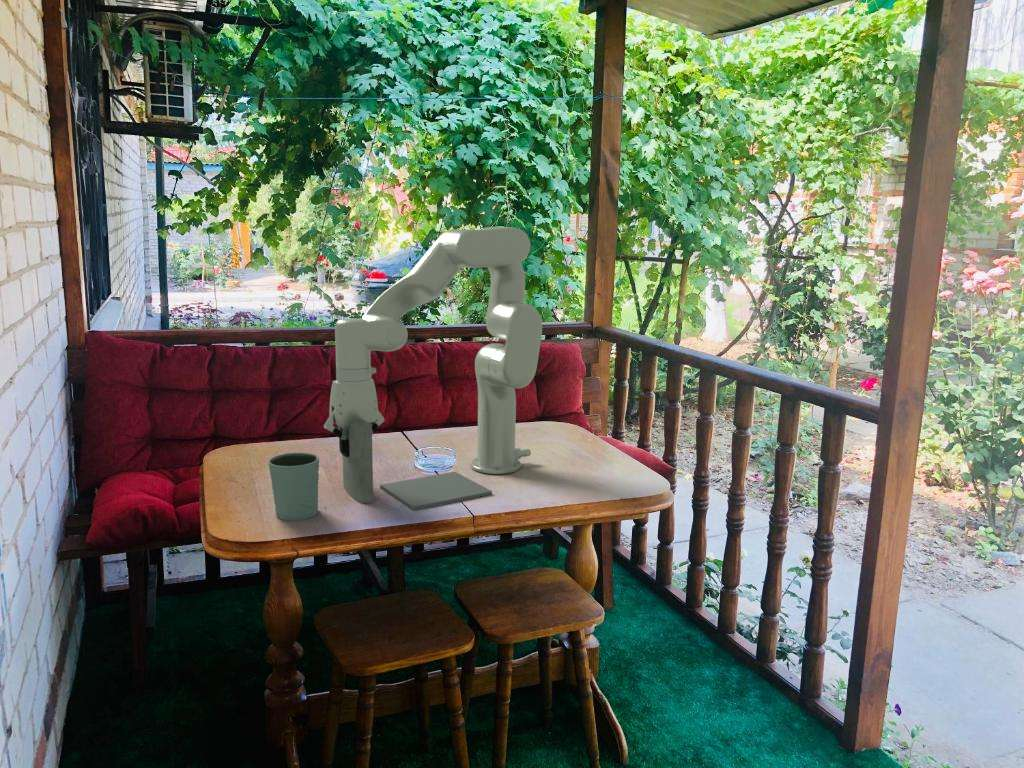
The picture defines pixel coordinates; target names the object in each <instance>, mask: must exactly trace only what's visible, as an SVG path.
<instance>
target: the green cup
mask: <svg viewBox="0 0 1024 768" xmlns="http://www.w3.org/2000/svg"><path fill="white" fill-rule="evenodd" d="M267 462H268V467H269V474H270V480H271V485H272V486H271V487H272V488H271V489H272V494H273V503H274V506H275V507H274V510H275V515H276V518H278V519H279V518H280V520H283V521H288V520H289V521H291V522H293V521H294V522H295V521H296V522H297V521H304V520H308V519H310V517H311V518H313V517H315V516H316V515H317V514H318V513H319V510H318V509H319V500H318V499H319V479H320V478H319V476H320V474H319V470H320V469H319V468H320V456H318V455H317V454H315V453H311V452H289V453H284V454H279V455H275V456H273V457H271V458H270V459H269V460H268V461H267ZM307 518H308V519H307ZM303 519H304V520H303Z"/></svg>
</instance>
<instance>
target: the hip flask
mask: <svg viewBox="0 0 1024 768" xmlns="http://www.w3.org/2000/svg"><path fill="white" fill-rule="evenodd" d="M347 439H348V440H349V457H345V456H343V455H342V454H341V455H342V456H341V457H342V458H341V459H342V484H343V488H344V490H345V491H346V493H347V494H348V495H349V496H350V497H351V498H352V499H354V500H355V501H357V502H358V503H360V504H371V503H372V502H374V470H373V468H374V467H373V460H374V459H373V435H372V424H371V423H369V422H366V421H364V420H355V421H349V426H348V433H347Z"/></svg>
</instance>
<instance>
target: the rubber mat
mask: <svg viewBox="0 0 1024 768" xmlns="http://www.w3.org/2000/svg"><path fill="white" fill-rule="evenodd" d="M379 488H380V489H381V490H382V491H383V492H386V493H387V494H388V495H390V496H391V497H393V498H394V499H396V500H397V501H398V502H401V503H402V504H403V505H404V506H406V507H408V508H409V509H411V510H412V511H417V510H418V511H419V510H422V509H426V508H432V507H436V505H437V506H441V505H440V504H442V505H446V504H445V503H447V504H451V503H450V502H452V503H456V501H457V502H460V501H461V500H462V501H466V500H465V499H467V500H471V499H470V498H472V499H476V498H475V497H477V498H481V497H480V496H482V497H486V496H485V495H487V496H491V495H490V494H493V491H492V490H491V489H489V488H487V487H485V486H484V485H481V484H479V483H478V482H476V481H473V480H472V479H470V478H468V477H466V476H464V475H462V474H461V473H459V472H457V471H451V472H445V473H439V474H438V473H437V474H433V475H427V476H422V477H418V478H417V477H416V478H411V479H405V480H399V481H394V482H388V483H383V484H379ZM431 506H432V507H431Z"/></svg>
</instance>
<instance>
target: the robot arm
mask: <svg viewBox="0 0 1024 768" xmlns="http://www.w3.org/2000/svg"><path fill="white" fill-rule="evenodd" d="M530 250H531V241H530V238H529V236H528V234H527V233H526V232H525V231H524V230H522V229H520V228H518V227H512V226H508V227H507V226H486V227H483V228H481V229H459V228H455V229H453V228H452V229H448V230H445V231H444V232H443V233H441V234H440V235H439V237H438V238H436V240H434V242H433V244H432V245H431V246H430V247H429V249H427V251H426V252H425V253H424V255H423V256H422V257H421V258H420V260H418V261H417V262H416V264H415V265H414V267H413V268H412V269H411V270H410V271H409V272H408V273H407V274H406V275H405V276H404V277H402V278H400V279H399V280H398V281H397V282H396V283H394V284H393V285H392V286H390V287H389V288H388V289H386V290H385V291H384V292H382V294H380V295H379V296H378V297H377V298H376V300H375V301H374V302H373V303H372V304H371V306H370V307H368V309H367V310H366V312H365V313H364V314H363V315H362V317H361V318H357V317H356V318H353V317H352V318H349V317H348V318H342V319H338V320H337V321H336V323H335V325H334V336H335V338H334V343H335V346H334V347H335V374H336V375H335V377H336V380H332V384H331V388H330V398H329V411H328V412H329V416H328V418H327V419H326V421H325V423H324V424H323V428H324V429H326V430H328V431H329V432H331V433H332V434H334V435H335V436H336V437H337V438H338V439H339V444H338V445H339V452H340V454H341V455H343V456H345V457H349V440H348V439H347V433H348V426H349V421H355V420H364V421H366V422H369V423H371V424H372V436H373V435H374V432H375V431H376V430H377V429H378V428H379V426H380V425H382V424H383V423H384V422H385V421H386V420H385V418H384V416H383V415H382V413H381V412H380V410H379V408H378V407H379V405H378V396H377V390H376V385H375V380H374V379H373V378H372V375H374V374H376V373H377V368H376V367H372V365H371V357H372V356H371V351H377V352H378V351H379V352H393V351H397V350H399V349H402V347H403V346H405V344H406V342H407V341H408V336H409V333H408V329H407V327H406V325H405V324H404V323H403V322H402V321H401V320H400V319H401V318H402V317H403V316H404V315H406V314H407V313H409V312H411V310H413V309H414V308H417V307H419V306H422V305H426V304H428V303H430V302H432V301H434V300H436V299H437V298H438V297H439V296H441V294H442V293H443V291H444V290H445V289H446V288H447V287H448V285H449V283H450V282H451V281H452V280H453V279H454V277H456V275H457V274H458V273H459V272H460V271H461V269H462V268H469V269H477V268H478V269H479V268H480V269H481V268H487V270H488V271H489V272H488V273H489V275H490V287H489V295H488V302H487V311H486V318H485V326H486V330H487V332H488V333H489V334H490V335H491V336H492V337H495V338H497V339H500V340H505V344H502V343H489V344H486V345H483V346H482V347H481V348H480V349H479V350H478V352H477V354H476V355H475V359H474V372H475V378H476V383H477V385H476V386H477V458H474V459H473V460H472V461H471V465H470V466H471V468H472V469H473V470H474V471H476V472H479V473H482V474H488V475H489V474H490V475H493V474H494V475H503V474H511V473H514V472H517V471H519V470H520V469H521V467H522V464H521V461H520V459H521V458H523V457H524V458H525V457H530V456H531V454H532V450H531V449H530V448H525V449H521V448H519V447H517V448H516V417H517V411H516V410H517V396H516V390H515V389H523V388H525V387H528V386H529V384H531V382H532V381H533V380H534V379H535V375H536V373H537V369H538V362H539V358H540V357H539V356H540V355H539V354H540V348H541V341H542V335H543V334H542V333H543V321H542V318H541V315H540V313H539V311H538V309H537V308H536V307H534V306H533V305H531V304H529V303H524V301H525V292H526V291H525V289H526V274H525V271H524V267H523V265H522V262H523V261H525V259H527V258H528V256H529V254H530ZM334 424H335V425H336V426H337V427H335V426H334Z"/></svg>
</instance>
